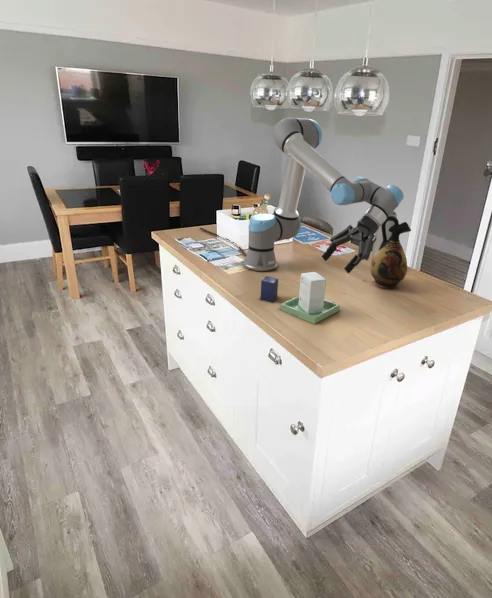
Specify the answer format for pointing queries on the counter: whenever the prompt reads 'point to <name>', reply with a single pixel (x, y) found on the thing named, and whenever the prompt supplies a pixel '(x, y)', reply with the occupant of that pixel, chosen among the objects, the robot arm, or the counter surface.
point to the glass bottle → (379, 235)
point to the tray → (296, 310)
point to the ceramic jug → (390, 257)
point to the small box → (312, 292)
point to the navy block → (269, 289)
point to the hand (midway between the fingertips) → (334, 264)
